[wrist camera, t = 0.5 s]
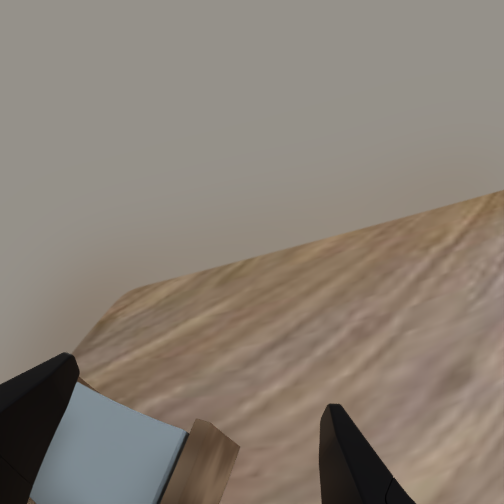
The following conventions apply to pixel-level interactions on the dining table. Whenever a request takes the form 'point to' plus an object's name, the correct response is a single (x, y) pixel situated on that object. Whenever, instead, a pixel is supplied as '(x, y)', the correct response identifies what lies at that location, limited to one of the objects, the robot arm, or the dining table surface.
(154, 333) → the dining table surface
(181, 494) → the frame
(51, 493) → the trapdoor
